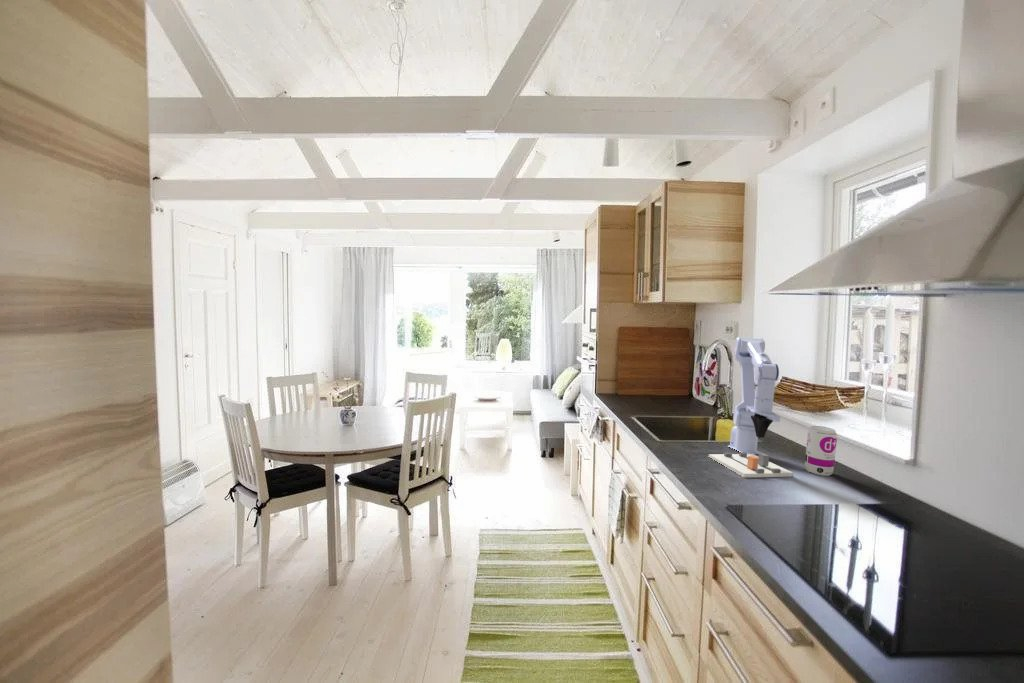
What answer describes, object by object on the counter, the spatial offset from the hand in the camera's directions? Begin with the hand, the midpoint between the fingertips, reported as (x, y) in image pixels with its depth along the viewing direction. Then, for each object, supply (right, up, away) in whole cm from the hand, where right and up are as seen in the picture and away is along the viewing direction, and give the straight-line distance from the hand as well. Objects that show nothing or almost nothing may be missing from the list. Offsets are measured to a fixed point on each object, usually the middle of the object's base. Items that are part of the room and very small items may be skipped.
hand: (760, 436), depth 162 cm
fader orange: (-7, -9, -8) cm, 13 cm away
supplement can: (+18, -11, -4) cm, 21 cm away
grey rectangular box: (-1, -9, -4) cm, 10 cm away
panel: (-5, -10, -2) cm, 11 cm away
